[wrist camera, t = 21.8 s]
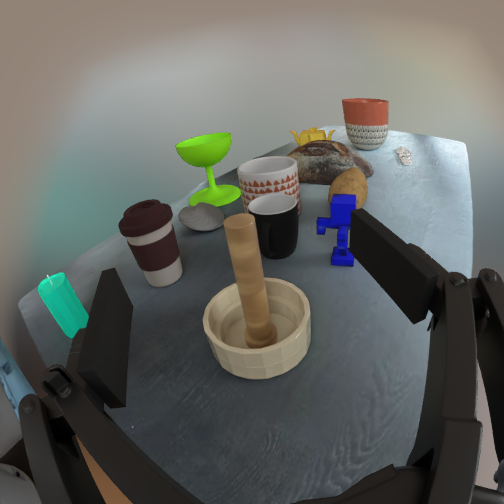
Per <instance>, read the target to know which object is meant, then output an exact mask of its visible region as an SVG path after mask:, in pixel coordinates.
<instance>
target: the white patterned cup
mask: <svg viewBox="0 0 504 504" xmlns="http://www.w3.org/2000/svg"><path fill="white" fill-rule="evenodd" d="M237 172H238V178H239V184H240V189H241V195H242V201H243V206H244V212H245V213H246V214H249V212H248V205H249V203H250V202H251V201H252V200H254V199H256V198H258V197H261V196H264V195H269V194H287V195H290V196H293V197H294V198H295V199H296V200H297V204H298V216H299V215H300V213H301V201H300V190H299V179H298V168H297V161H296V160H295V159H293V158H290V157H284V156H271V157H262V158H257V159H253V160H250V161H247V162H245V163H243V164H241V165H240V166H239V167H238V168H237Z"/></svg>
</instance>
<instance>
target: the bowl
mask: <svg viewBox="0 0 504 504" xmlns="http://www.w3.org/2000/svg"><path fill="white" fill-rule="evenodd" d="M264 280H265V286H266V293H267V299H268V306H269V312H270V319H271V322H272V323H273V324H274V325H275V326H276V329H277V335H278V339H277V342H276V344H274V345H271V346H267V347H264V348H260V349H251V348H249V347H248V346H247V344H246V341H245V337H244V331H245V329H246V327H247V326H246V322H245V317H244V313H243V309H242V305H241V300H240V296H239V292H238V287H237V283H234V284H232V285H230V286H228V287H226V288H224V289H223V290H222V291H220V292H219V293H218V294H217V295H215V296H214V297H213V298H212V300H211V301H210V302H209V304H208V305H207V307H206V309H205V312H204V316H203V325H204V330H205V333H206V336H207V338H208V341H209V344H210V346H211V349H212V351H213V354H214V356H215V358H216V359H217V361H218V362H219V364H220V365H221V366H222V367H223V368H224V369H226V370H227V371H229V372H230V373H232V374H233V375H236V376H239V377H243V378H247V379H268V378H271V377H275V376H278V375H281V374H284V373H286V372H287V371H289V370H290V369H292V368H293V367H295V366H296V365H298V363H299V362H300V361H301V360H302V358H303V357H304V356H305V355H306V353H307V351H308V348H309V345H310V342H311V328H310V327H311V326H310V306H309V301H308V299H307V298H306V296H305V294H304V293H303V292H302V291H301V290H300V289H299V288H297V287H296V286H295V285H293V284H292V283H289V282H286V281H284V280H281V279H275V278H267V277H264Z"/></svg>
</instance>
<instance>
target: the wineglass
mask: <svg viewBox="0 0 504 504" xmlns="http://www.w3.org/2000/svg"><path fill="white" fill-rule="evenodd" d="M230 145H231V134H230V133H213V134H207V135H203V136H198V137H194V138H191V139H188V140H185V141H182V142H180V143H179V144H177V145H176V146H175V147H176V149H177V152H178V154H179V155H180V157H181V158H182V159H183V160H184V161H186V162H187V163H188V164H191V165H193V166H196V167H205V168H206V173H207V176H208V182H209V187H208V188H205V189H203V190H200V191H198V192H197V193H195V194H194V195H193V196H192V197H191V198H190V201H189V204H190V206H195V205H196V204H197V203H199V202H204V203H209V204H212V205H214V206H216V207H219V206H223V205H226V204H228V203H231V202H233V201H234V200H236V199H237V198H239V197H240V195H241V190H240V189H239V188H238V187H235V186H232V185H217V186H216V184H215V179H214V174H213V169H212V165H214V164H216V163H218V162H220V161H221V160H222V159H223V158H224V157H225V156H226V154H227V153H228V151H229V149H230Z"/></svg>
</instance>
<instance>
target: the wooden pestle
mask: <svg viewBox="0 0 504 504" xmlns="http://www.w3.org/2000/svg"><path fill="white" fill-rule="evenodd" d="M223 225H224V229H225V234H226V238H227V243H228V248H229V252H230V257H231V261H232V265H233V270H234V274H235V279H236V283H237V287H238V292H239V296H240V300H241V305H242V309H243V313H244V317H245V322H246V326H247V327H246V329H245V331H244V337H245V341H246V344H247V346H248V347H249V348H251V349H260V348H264V347H267V346H271V345H274V344H276V342H277V339H278V335H277V329H276V326H275V325H274V324H273V323H272V322H271V319H270V312H269V306H268V299H267V293H266V286H265V280H264V274H263V267H262V261H261V254H260V248H259V242H258V235H257V229H256V223H255V217H254V216H253V215H251V214H246V213H241V214H235V215H232V216H230V217H228V218H227V219H225V220H224V223H223Z"/></svg>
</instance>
